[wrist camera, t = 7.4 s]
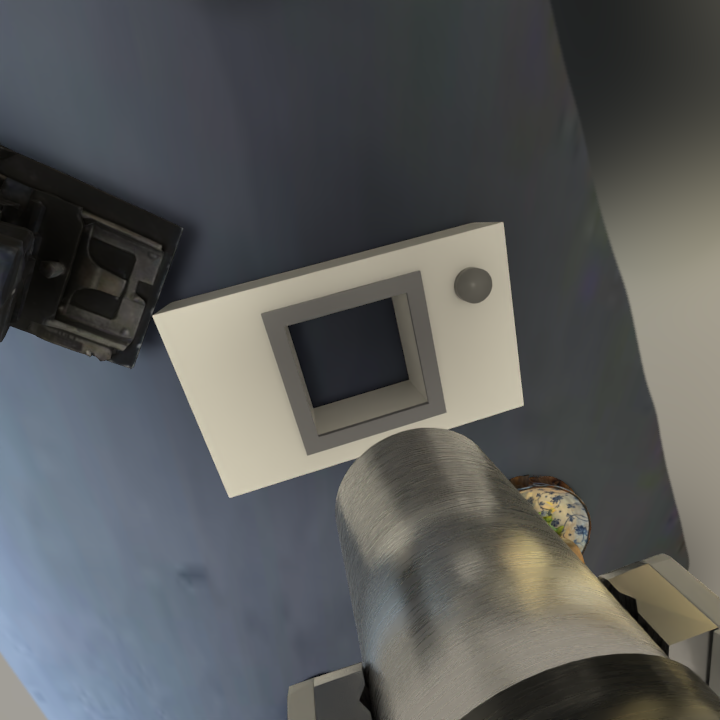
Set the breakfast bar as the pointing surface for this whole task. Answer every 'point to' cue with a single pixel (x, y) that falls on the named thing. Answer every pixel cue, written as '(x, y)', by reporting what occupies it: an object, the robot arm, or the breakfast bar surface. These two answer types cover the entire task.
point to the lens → (487, 600)
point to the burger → (558, 509)
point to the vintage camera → (78, 261)
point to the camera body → (365, 411)
